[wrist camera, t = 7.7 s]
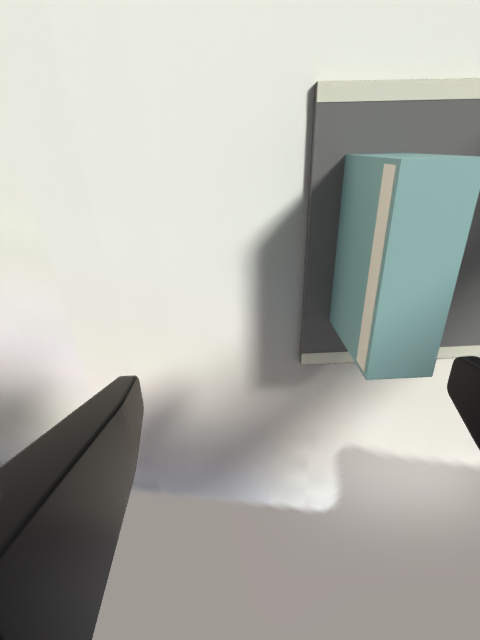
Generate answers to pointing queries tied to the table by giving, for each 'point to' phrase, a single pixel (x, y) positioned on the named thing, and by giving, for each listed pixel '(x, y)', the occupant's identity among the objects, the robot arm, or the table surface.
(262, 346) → the table surface
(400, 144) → the mat
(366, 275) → the block
